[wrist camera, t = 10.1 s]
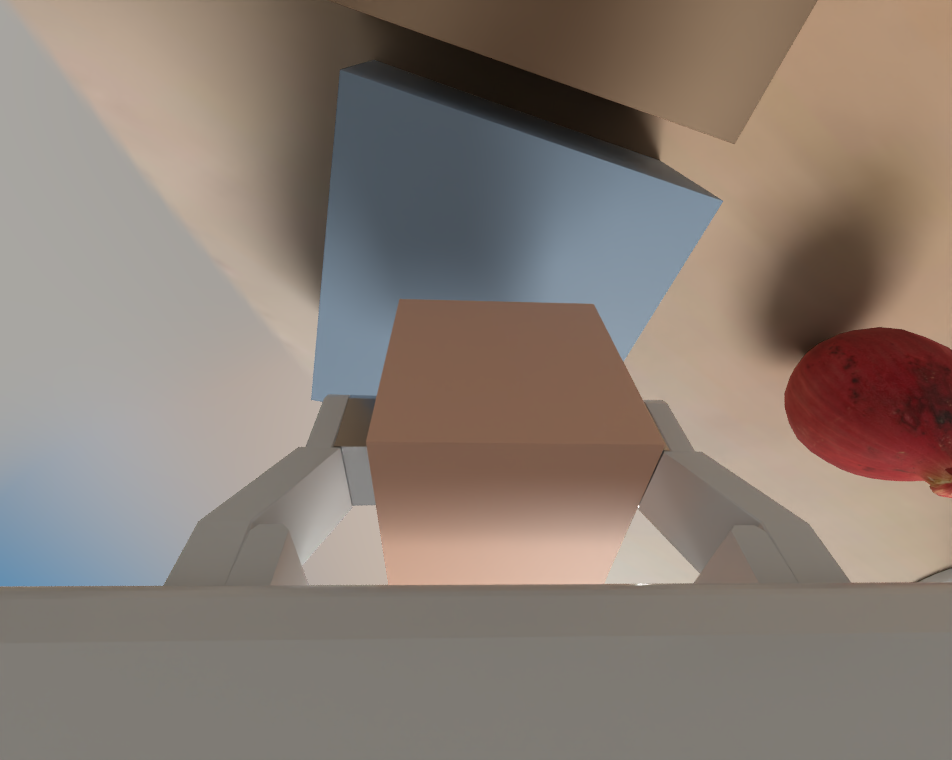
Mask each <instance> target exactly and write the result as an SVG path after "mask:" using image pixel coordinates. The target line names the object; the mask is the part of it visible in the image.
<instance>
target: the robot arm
mask: <svg viewBox="0 0 952 760" xmlns="http://www.w3.org/2000/svg"><path fill="white" fill-rule="evenodd" d="M376 397H377V396H371V395H337V394H328V395H327V396H326V397H325V398H324V400H323V402H322V405H321V408H320V410H319V413H318V416H317V419H316V421H315V423H314V426H313V429H312V431H311V434H310V437H309V440H308V442H307V445H306V447H298V448H297V449H295V450H294V451H293V452H291V453H290V454H288V455H287V456H286V457H285V458H283V459H282V460H281V461H279V462H278V463H276V464H275V465H274V466H272V467H271V468H270V469H268V470H267V471H266V472H264V473H263V474H262V475H260V476H259V477H258V478H256V479H255V480H254V481H252V482H251V483H250V484H248V485H247V486H245V487H244V488H243V489H241V490H240V491H239V492H237V493H236V494H235V495H233V496H232V497H231V498H229V499H228V500H227V501H225V502H224V503H223V504H221V505H220V506H219V507H217V508H216V509H215V510H213V511H212V512H211V513H209V514H208V515H206V516H205V517H204V518H202V519H201V520H200V521H199V522H198V523H197V525H196V527H195V529H194V531H193V532H192V534H191V536H190V538H189V540H188V542H187V544H186V546H185V547H184V549H183V551H182V553H181V555H180V556H179V558H178V560H177V562H176V564H175V565H174V567H173V569H172V571H171V573H170V575H169V576H168V578H167V580H166V582H165V584H164V585H163V586H54V587H52V586H51V587H50V586H48V587H47V586H46V587H45V586H39V587H0V760H952V582H905V583H851V582H850V580H849V579H848V578H847V576H846V575H845V573H844V572H843V571H842V569H841V568H840V566H839V565H838V564H837V562H836V561H835V559H834V558H833V557H832V555H831V554H830V552H829V551H828V550H827V548H826V547H825V546H824V544H823V543H822V541H821V540H820V539H819V537H818V536H817V534H816V533H815V532H814V530H813V529H812V527H811V526H810V525H809V524H808V523H807V522H805V521H804V520H802V519H801V518H799V517H798V516H796V515H795V514H793V513H792V512H790V511H789V510H787V509H786V508H784V507H783V506H781V505H780V504H778V503H777V502H775V501H774V500H772V499H771V498H770V497H768V496H767V495H765V494H764V493H762V492H761V491H759V490H758V489H756V488H755V487H753V486H752V485H750V484H749V483H747V482H746V481H744V480H743V479H741V478H740V477H738V476H737V475H735V474H734V473H732V472H731V471H729V470H728V469H726V468H725V467H723V466H722V465H720V464H719V463H717V462H716V461H715V460H713V459H712V458H710V457H709V456H707V455H706V454H704V453H703V452H695V451H694V449H693V447H692V445H691V444H690V442H689V440H688V439H687V437H686V435H685V433H684V432H683V430H682V428H681V427H680V425H679V423H678V421H677V420H676V418H675V416H674V414H673V413H672V411H671V409H670V408H669V406H668V404H667V403H666V402H664V401H663V400H643V402H644V404H645V406H646V408H647V409H648V411H649V413H650V415H651V417H652V419H653V421H654V423H655V425H656V427H657V429H658V431H659V433H660V435H661V437H662V439H663V441H664V443H665V447H664V449H663V451H662V453H661V456H660V458H659V460H658V463H657V465H656V467H655V469H654V472H653V474H652V476H651V478H650V481H649V483H648V485H647V487H646V490H645V492H644V494H643V496H642V499H641V501H640V503H639V506H638V509H639V511H640V512H641V513H642V514H643V515H644V516H645V517H646V518H647V519H648V520H649V521H650V522H651V523H652V524H653V525H654V526H655V527H656V528H657V529H658V530H659V531H660V532H661V533H662V535H663V536H664V537H665V538H666V539H667V540H668V541H669V542H670V543H671V544H672V545H673V546H674V547H675V548H676V549H677V550H678V551H679V552H680V553H681V554H682V555H683V556H684V557H685V558H686V560H687V561H688V562H689V563H690V564H691V565H692V566H693V567H694V568H695V569H696V570H697V571H698V572H699V573H700V575H699V576H698V577H697V579H696V580H695V582H694V583H690V584H496V585H309V584H308V581H307V579H306V576H305V573H304V571H303V568H302V566H303V564H304V563H305V562H306V561H307V560H308V559H309V558H310V556H311V555H312V554H313V553H314V552H315V551H316V549H317V548H318V547H319V546H320V545H321V544H322V542H323V541H324V540H325V539H326V538H327V537H328V536H329V534H330V533H331V532H332V531H333V530H334V528H335V527H336V526H337V525H338V524H339V522H341V520H342V519H343V518H344V517H345V516H346V515H347V513H348V512H349V511H350V510H351V509H352V506H354V505H376V503H375V496H374V490H373V484H372V477H371V471H370V465H369V459H368V452H367V446H366V439H367V435H368V431H369V426H370V422H371V418H372V414H373V409H374V405H375V401H376Z"/></svg>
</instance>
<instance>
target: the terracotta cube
mask: <svg viewBox="0 0 952 760" xmlns="http://www.w3.org/2000/svg"><path fill="white" fill-rule="evenodd" d="M366 446H367V452H368V459H369V465H370V471H371V477H372V484H373V490H374V496H375V503H376V508H377V515H378V522H379V528H380V534H381V541H382V546H383V553H384V560H385V566H386V572H387V579H388V585H496V584H604V583H605V580H606V578H607V576H608V573H609V571H610V569H611V567H612V564H613V562H614V560H615V558H616V555H617V553H618V551H619V549H620V546H621V544H622V542H623V539H624V537H625V535H626V533H627V530H628V528H629V526H630V524H631V521H632V519H633V517H634V515H635V512H636V510H637V508H638V506H639V503H640V501H641V499H642V496H643V494H644V492H645V490H646V487H647V485H648V483H649V481H650V478H651V476H652V474H653V472H654V469H655V467H656V465H657V463H658V460H659V458H660V456H661V453H662V451H663V449H664V447H665V443H664V441H663V439H662V437H661V435H660V433H659V431H658V429H657V427H656V425H655V423H654V421H653V419H652V417H651V415H650V413H649V411H648V409H647V408H646V406H645V404H644V402H643V400H642V398H641V396H640V394H639V392H638V390H637V388H636V386H635V384H634V382H633V380H632V378H631V376H630V374H629V372H628V370H627V368H626V366H625V364H624V362H623V360H622V358H621V356H620V355H619V353H618V351H617V349H616V347H615V345H614V343H613V341H612V339H611V337H610V335H609V333H608V331H607V329H606V327H605V325H604V323H603V321H602V319H601V317H600V315H599V313H598V311H597V309H596V307H595V305H594V304H581V303H541V302H502V301H462V300H423V299H399V303H398V307H397V311H396V316H395V320H394V324H393V328H392V333H391V337H390V341H389V345H388V350H387V354H386V358H385V363H384V367H383V371H382V375H381V380H380V384H379V388H378V392H377V397H376V401H375V405H374V409H373V414H372V418H371V422H370V426H369V431H368V435H367V439H366Z"/></svg>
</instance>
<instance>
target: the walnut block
mask: <svg viewBox="0 0 952 760" xmlns="http://www.w3.org/2000/svg"><path fill="white" fill-rule="evenodd" d="M328 1H331V2H334V3H337V4H340V5H343V6H345V7H348V8H351V9H354V10H357V11H360V12H362V13H365V14H368V15H371V16H374V17H376V18H379V19H382V20H385V21H388V22H391V23H393V24H396V25H399V26H402V27H405V28H408V29H410V30H413V31H416V32H419V33H422V34H425V35H427V36H430V37H433V38H436V39H439V40H442V41H444V42H447V43H450V44H453V45H456V46H458V47H461V48H464V49H467V50H470V51H473V52H475V53H478V54H481V55H484V56H487V57H490V58H492V59H495V60H498V61H501V62H504V63H507V64H509V65H512V66H515V67H518V68H521V69H523V70H526V71H529V72H532V73H535V74H538V75H540V76H543V77H546V78H549V79H552V80H555V81H557V82H560V83H563V84H566V85H569V86H572V87H574V88H577V89H580V90H583V91H586V92H588V93H591V94H594V95H597V96H600V97H603V98H605V99H608V100H611V101H614V102H617V103H620V104H622V105H625V106H628V107H631V108H634V109H637V110H639V111H642V112H645V113H648V114H651V115H653V116H656V117H659V118H662V119H665V120H668V121H670V122H673V123H676V124H679V125H682V126H685V127H687V128H690V129H693V130H696V131H699V132H702V133H704V134H707V135H710V136H713V137H716V138H718V139H721V140H724V141H727V142H730V143H733V144H735V143H736V141H737V139H738V137H739V136H740V134H741V132H742V130H743V129H744V127H745V125H746V123H747V122H748V120H749V118H750V117H751V115H752V113H753V111H754V110H755V108H756V106H757V104H758V103H759V101H760V99H761V97H762V96H763V94H764V92H765V91H766V89H767V87H768V85H769V84H770V82H771V80H772V78H773V77H774V75H775V73H776V71H777V70H778V68H779V66H780V65H781V63H782V61H783V59H784V58H785V56H786V54H787V52H788V51H789V49H790V47H791V45H792V44H793V42H794V40H795V39H796V37H797V35H798V33H799V32H800V30H801V28H802V26H803V25H804V23H805V21H806V19H807V18H808V16H809V14H810V13H811V11H812V9H813V7H814V6H815V4H816V2H817V0H328Z"/></svg>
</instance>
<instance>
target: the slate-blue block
mask: <svg viewBox="0 0 952 760" xmlns="http://www.w3.org/2000/svg"><path fill="white" fill-rule="evenodd" d="M722 202H723V201H722V200H721V199H719V198H718V197H716V196H714V195H713V194H711V193H710V192H708V191H707V190H705V189H704V188H702V187H700V186H699V185H697V184H696V183H694V182H693V181H691V180H689V179H688V178H686V177H685V176H683V175H682V174H680V173H678V172H677V171H675V170H674V169H672V168H671V167H669V166H668V165H666V164H664V163H663V162H661V161H659V160H657V159H654V158H651V157H648V156H645V155H642V154H640V153H637V152H634V151H631V150H628V149H625V148H623V147H620V146H617V145H614V144H611V143H608V142H606V141H603V140H600V139H597V138H594V137H591V136H589V135H586V134H583V133H580V132H577V131H574V130H572V129H569V128H566V127H563V126H560V125H557V124H555V123H552V122H549V121H546V120H543V119H540V118H538V117H535V116H532V115H529V114H526V113H523V112H520V111H518V110H515V109H512V108H509V107H506V106H503V105H501V104H498V103H495V102H492V101H489V100H486V99H484V98H481V97H478V96H475V95H472V94H469V93H467V92H464V91H461V90H458V89H455V88H452V87H450V86H447V85H444V84H441V83H438V82H435V81H433V80H430V79H427V78H424V77H421V76H418V75H416V74H413V73H410V72H407V71H404V70H401V69H399V68H396V67H393V66H390V65H387V64H384V63H382V62H379V61H376V60H372V61H368V62H365V63H361V64H358V65H354V66H351V67H347V68H344V69H341V70H340V76H339V87H338V99H337V110H336V122H335V133H334V144H333V156H332V167H331V179H330V190H329V202H328V213H327V225H326V236H325V247H324V259H323V270H322V282H321V293H320V305H319V316H318V328H317V339H316V350H315V362H314V373H313V385H312V398H311V400H315V401H321V402H323V400H324V398H325V397H326V396H327V395H328V394H337V395H371V396H377V392H378V388H379V384H380V380H381V375H382V371H383V367H384V363H385V358H386V354H387V350H388V345H389V341H390V337H391V333H392V328H393V324H394V320H395V316H396V311H397V307H398V303H399V299H423V300H462V301H502V302H541V303H581V304H594V305H595V307H596V309H597V311H598V313H599V315H600V317H601V319H602V321H603V323H604V325H605V327H606V329H607V331H608V333H609V335H610V337H611V339H612V341H613V343H614V345H615V347H616V349H617V351H618V353H619V355H620V356H621V358H622V360H623V361H624V360H625V358H626V357H627V355H628V353H629V352H630V350H631V349H632V347H633V345H634V344H635V342H636V341H637V339H638V337H639V336H640V334H641V332H642V331H643V329H644V328H645V326H646V324H647V323H648V321H649V320H650V318H651V316H652V315H653V313H654V312H655V310H656V308H657V307H658V305H659V304H660V302H661V300H662V299H663V297H664V296H665V294H666V292H667V291H668V289H669V287H670V286H671V284H672V283H673V281H674V279H675V278H676V276H677V275H678V273H679V271H680V270H681V268H682V267H683V265H684V263H685V262H686V260H687V259H688V257H689V255H690V254H691V252H692V251H693V249H694V247H695V246H696V244H697V243H698V241H699V239H700V238H701V236H702V234H703V233H704V231H705V230H706V228H707V226H708V225H709V223H710V222H711V220H712V218H713V217H714V215H715V214H716V212H717V210H718V209H719V207H720V206H721V204H722Z"/></svg>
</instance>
